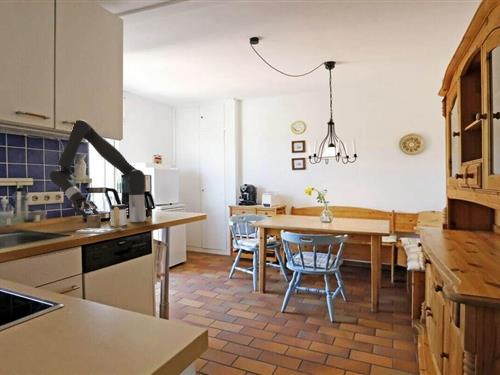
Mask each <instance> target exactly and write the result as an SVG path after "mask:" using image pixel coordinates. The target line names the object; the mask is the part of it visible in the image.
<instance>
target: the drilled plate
mask: <svg viewBox="0 0 500 375" xmlns="http://www.w3.org/2000/svg"><path fill="white" fill-rule="evenodd" d="M113 232H115V230H114V229H112V228H87V227H86V228H84V229H83V228H82V229H78V230H75V233H76V234H77V233H78V234H96V235H97V234H100V235H101V234H102V235H104V234H108V233H113Z"/></svg>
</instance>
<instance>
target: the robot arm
mask: <svg viewBox="0 0 500 375" xmlns="http://www.w3.org/2000/svg"><path fill="white" fill-rule="evenodd" d="M75 121H76V124H74V127H73V130H72V132H71V131H70V134H69V137H68V141H67V143H66V145H65V147H64V148H63V151H62V153H61V155H60V156H59V157H60V158H59V160H58V163H57V164H58V166H59V167H61V168H60V169H53V170H51V171H50V172H49V179H50V180H51V182H52V183H53V184H54V185H55V186H57V187H58V188H60V189H61V190H62V192H63V193H64V195H65V196H66V197H67V198H68V200H69V201H70V202H71V205H70V207H71V208H72V209H73V211H74V212H75V214H78V213H79V214H80V215H82V216H81V217H83V219H87V216H88V214H87V213H86V210H87V211H90V212H92V213H93V215H100V214H99V211H98V210H97V209H98V206H97V205H96V204H95V203H94V201H92V200H89V201H87V197H86V195H85V194H84V193H83V192H82V191H81V190H80V188H78V186H77V185H76V184H75V183H74V182H73V181H71V180H70V176H71V172H72V171H71V170H72V166H73V164H74V162H75V159H76V156H77V153H78V150H79V147H80V145H81V142H82V141H83V139H84V140H86V141H87V142H88V143H89V144H91V146H92V147H93V148H94V150H95V151H96V152H97V154H99V155H100V156H101V157H102V158H103V159H104V160H105V161H106V162H108V163H109V164H110V165H112V166H113V167H114V168H116V170H119V171H120V172H121V173H122V174H123V175H124V177H126V179H127V180H128V181H129V182H128V183H129V184H128V186H129V187H128V188H129V190H128V203H129V204H128V205H129V208H128V209H129V223H141V222H142V223H143V222H146V220H147V216H146V215H147V214H146V211H147V210H146V205H145V190H146V187H145V185H146V183H145V181H146V180H145V174H144V172H143V171H142V170H141V169H137V168H136V167H134V166H133V165H132V164H130V162H128V161H127V159H126V158H125V157H124V156H123V154H122V153H121V152H120V151H119V150H118V149H117V148H116V147H115V146H114V145H113V144H111V143H110V142H109V141H108V140H106V139H105V138H104V137H102V136H101V135H100V134H99V133H97V131H96V130H95V129H94V128H93V127H92V126H91V124H89V122H88V123H87V121H86V120H84V119H77V120H75Z"/></svg>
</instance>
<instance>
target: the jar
mask: <svg viewBox="0 0 500 375" xmlns="http://www.w3.org/2000/svg"><path fill="white" fill-rule="evenodd" d="M115 207H118V208H119V222H120V227H121V226H125V225H127V224H128V221H127V207H126V204H122V203H121V204H111V205H110V211H109V213H110V226H111V227H114V208H115Z"/></svg>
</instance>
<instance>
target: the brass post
mask: <svg viewBox="0 0 500 375" xmlns="http://www.w3.org/2000/svg"><path fill="white" fill-rule="evenodd" d="M111 229H114V231H120V230H122V227H121V226H120V222H119V208H118V207H115V208H114V226H113V227H112V228H111Z"/></svg>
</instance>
